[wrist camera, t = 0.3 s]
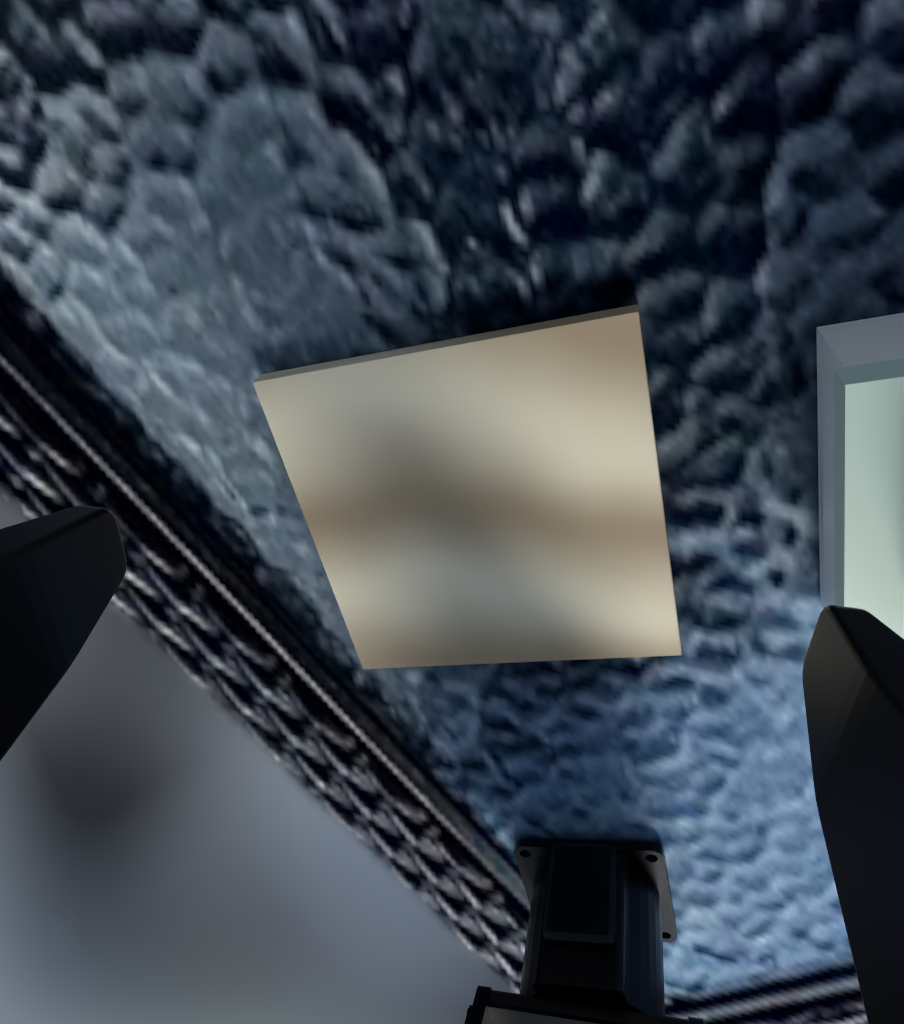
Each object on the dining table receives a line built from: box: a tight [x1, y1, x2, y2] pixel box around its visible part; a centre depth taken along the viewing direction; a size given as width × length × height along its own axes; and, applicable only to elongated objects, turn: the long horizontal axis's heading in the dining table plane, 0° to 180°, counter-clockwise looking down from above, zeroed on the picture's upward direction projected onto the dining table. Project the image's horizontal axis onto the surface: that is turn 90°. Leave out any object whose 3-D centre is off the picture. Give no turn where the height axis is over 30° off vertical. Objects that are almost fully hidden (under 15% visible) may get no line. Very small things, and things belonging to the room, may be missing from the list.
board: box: [253, 304, 681, 669], centre depth 24 cm, size 12×12×1 cm
